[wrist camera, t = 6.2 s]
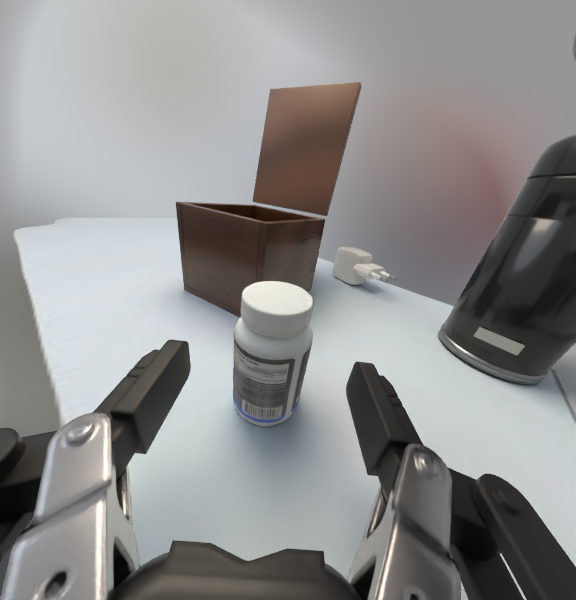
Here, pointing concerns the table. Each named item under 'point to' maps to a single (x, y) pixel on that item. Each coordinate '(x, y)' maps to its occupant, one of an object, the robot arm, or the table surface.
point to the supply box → (244, 249)
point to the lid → (304, 145)
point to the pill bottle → (271, 351)
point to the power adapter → (357, 267)
